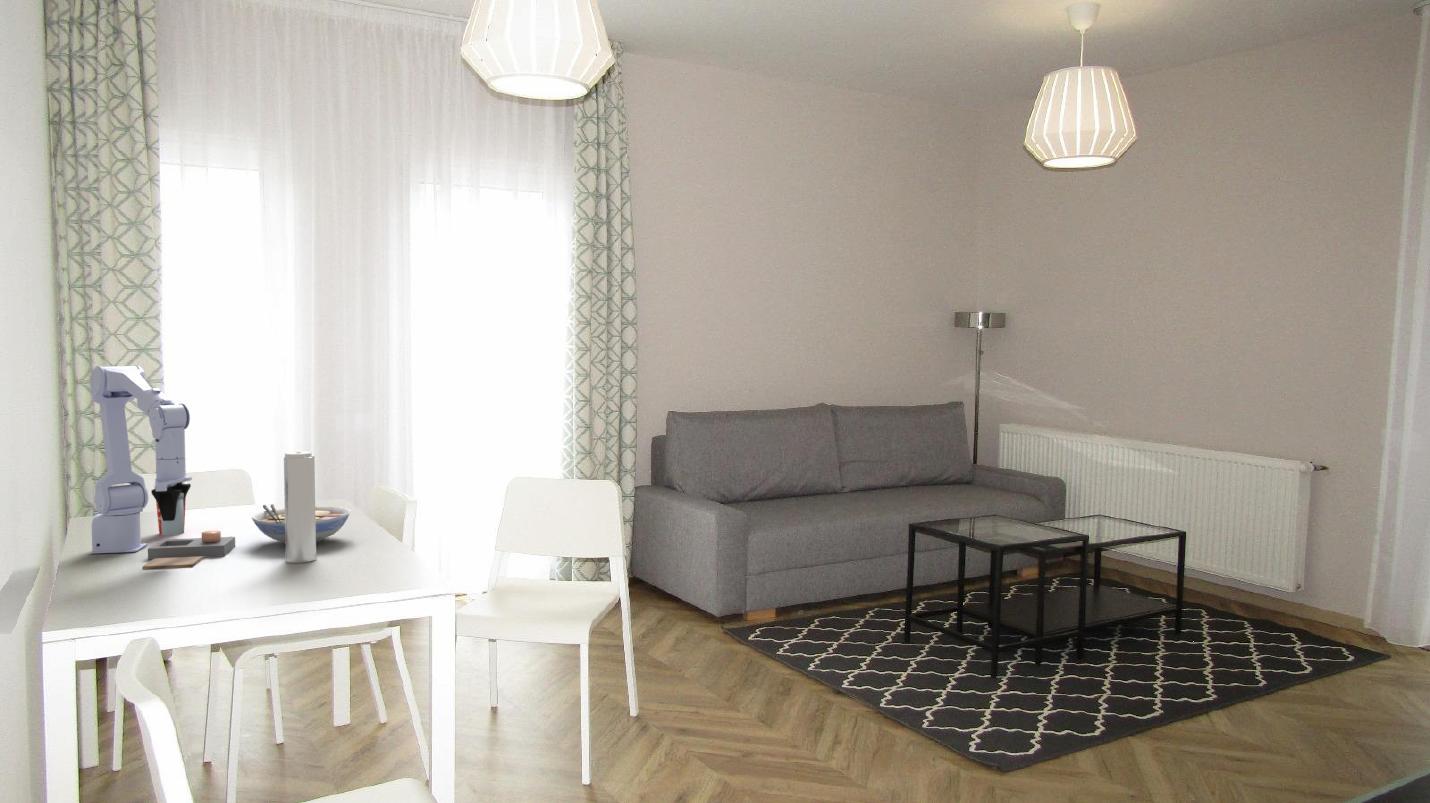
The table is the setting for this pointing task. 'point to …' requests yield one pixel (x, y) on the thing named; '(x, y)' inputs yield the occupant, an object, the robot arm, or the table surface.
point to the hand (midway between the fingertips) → (172, 518)
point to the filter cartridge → (175, 520)
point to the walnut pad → (172, 562)
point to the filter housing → (190, 548)
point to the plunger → (211, 536)
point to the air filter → (299, 507)
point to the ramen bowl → (326, 516)
